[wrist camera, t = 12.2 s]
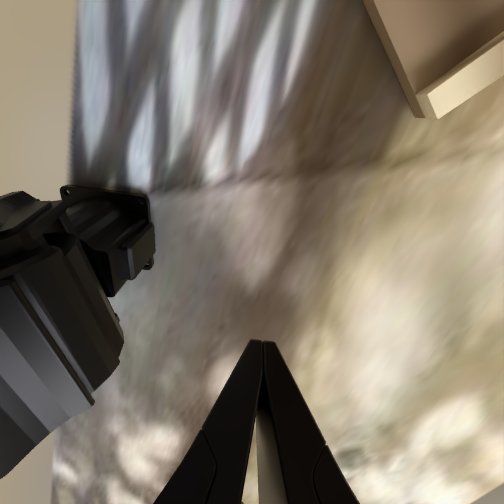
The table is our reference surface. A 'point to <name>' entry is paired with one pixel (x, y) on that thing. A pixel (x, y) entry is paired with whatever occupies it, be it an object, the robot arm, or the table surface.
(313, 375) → the table surface
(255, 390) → the robot arm
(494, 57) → the open-ended rail tray
